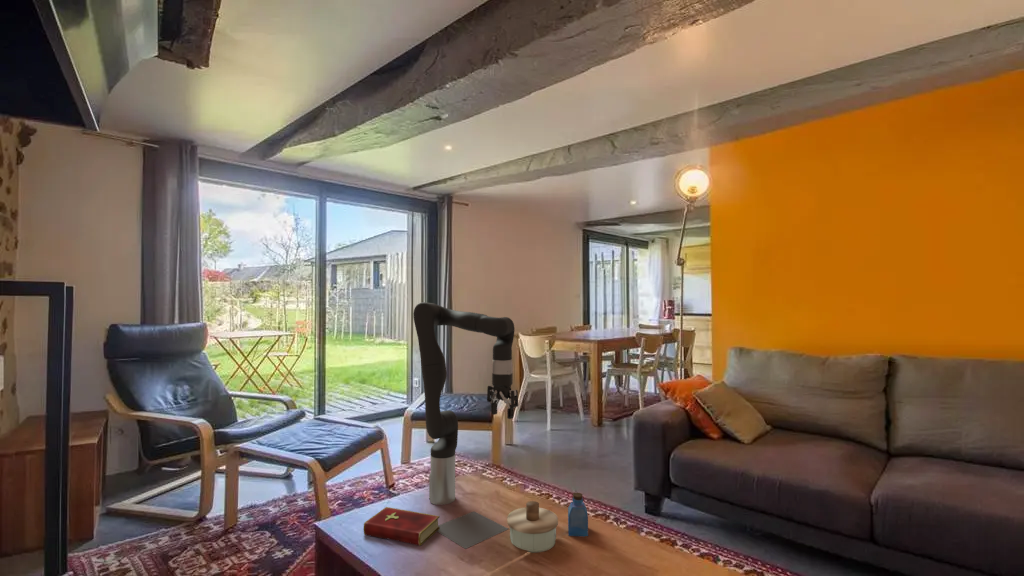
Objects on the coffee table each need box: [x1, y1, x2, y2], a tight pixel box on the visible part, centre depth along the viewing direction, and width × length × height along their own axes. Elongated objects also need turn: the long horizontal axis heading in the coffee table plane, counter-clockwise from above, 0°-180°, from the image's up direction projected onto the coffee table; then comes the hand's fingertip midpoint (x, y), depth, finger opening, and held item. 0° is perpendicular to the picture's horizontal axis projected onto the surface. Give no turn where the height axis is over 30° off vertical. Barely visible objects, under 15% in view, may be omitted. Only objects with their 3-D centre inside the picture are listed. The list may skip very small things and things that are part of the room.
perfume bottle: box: [567, 492, 589, 537], centre depth 156 cm, size 6×6×12 cm
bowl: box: [509, 526, 557, 554], centre depth 150 cm, size 14×14×6 cm
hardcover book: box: [363, 506, 440, 547], centre depth 155 cm, size 12×21×4 cm, turn 69°
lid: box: [506, 500, 559, 534], centre depth 150 cm, size 16×16×6 cm
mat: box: [436, 510, 509, 550], centre depth 157 cm, size 18×18×1 cm
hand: (502, 416), depth 174 cm, fingers open, 8 cm apart
